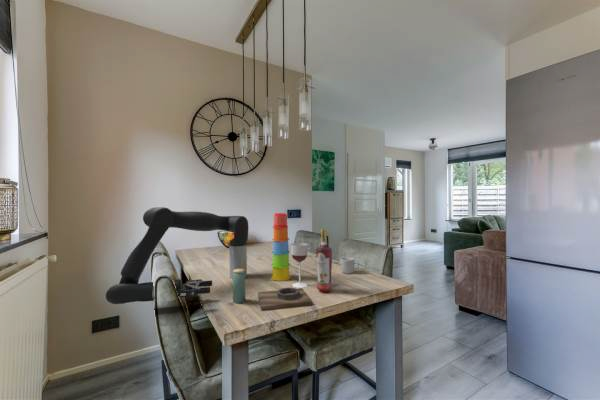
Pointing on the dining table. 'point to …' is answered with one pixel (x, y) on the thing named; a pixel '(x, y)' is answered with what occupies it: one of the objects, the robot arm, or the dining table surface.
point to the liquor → (324, 264)
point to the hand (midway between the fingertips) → (211, 286)
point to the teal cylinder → (238, 286)
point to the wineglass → (299, 258)
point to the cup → (348, 265)
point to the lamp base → (278, 303)
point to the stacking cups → (280, 248)
